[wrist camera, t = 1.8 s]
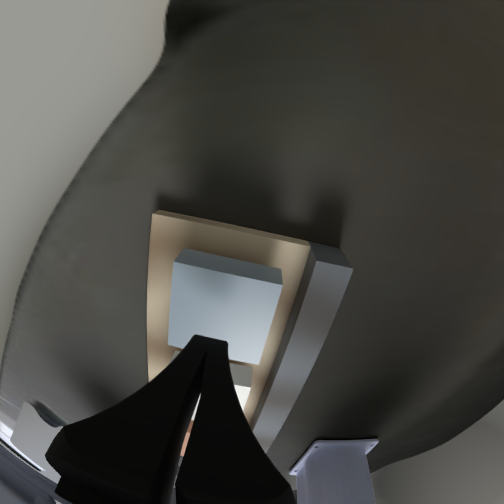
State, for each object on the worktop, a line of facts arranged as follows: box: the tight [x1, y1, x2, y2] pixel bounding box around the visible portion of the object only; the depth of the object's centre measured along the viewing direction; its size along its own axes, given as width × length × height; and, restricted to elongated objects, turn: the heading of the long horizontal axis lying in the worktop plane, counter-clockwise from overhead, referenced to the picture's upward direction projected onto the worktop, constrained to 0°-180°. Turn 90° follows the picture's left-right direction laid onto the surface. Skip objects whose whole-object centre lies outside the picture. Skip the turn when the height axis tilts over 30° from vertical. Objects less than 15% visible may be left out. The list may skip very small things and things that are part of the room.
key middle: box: [170, 350, 253, 421], centre depth 16 cm, size 5×5×2 cm
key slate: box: [168, 248, 283, 365], centre depth 14 cm, size 5×5×2 cm
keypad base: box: [147, 210, 353, 453], centre depth 18 cm, size 21×11×3 cm, turn 168°
